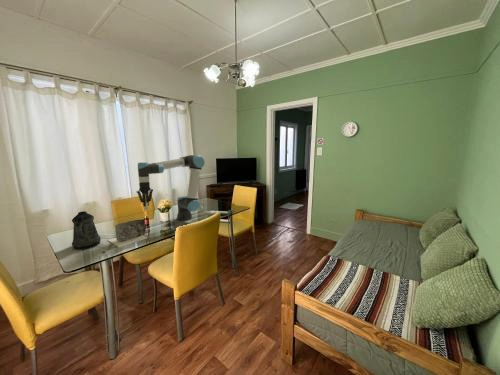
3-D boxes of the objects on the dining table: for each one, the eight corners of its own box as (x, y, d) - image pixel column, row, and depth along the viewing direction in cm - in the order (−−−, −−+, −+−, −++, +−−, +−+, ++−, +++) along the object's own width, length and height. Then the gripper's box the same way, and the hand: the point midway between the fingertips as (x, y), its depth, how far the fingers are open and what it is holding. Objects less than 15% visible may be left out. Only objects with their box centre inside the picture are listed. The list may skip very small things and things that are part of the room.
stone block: (146, 234, 169) (120, 243, 153) (142, 233, 173) (116, 241, 158) (145, 219, 168) (117, 225, 152) (140, 218, 172) (113, 224, 156)
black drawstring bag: (97, 238, 163) (93, 207, 159) (105, 245, 151) (101, 212, 147) (69, 245, 150) (64, 212, 146) (76, 253, 138) (71, 217, 134)
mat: (137, 232, 176) (137, 231, 176) (149, 237, 165) (149, 237, 165) (107, 240, 159) (107, 240, 159) (119, 247, 147) (118, 246, 147)
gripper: (149, 180, 175) (151, 207, 178) (133, 182, 164) (136, 211, 168) (154, 181, 170) (156, 209, 174) (138, 183, 160) (140, 212, 164)
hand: (146, 210), depth 171 cm, fingers closed
